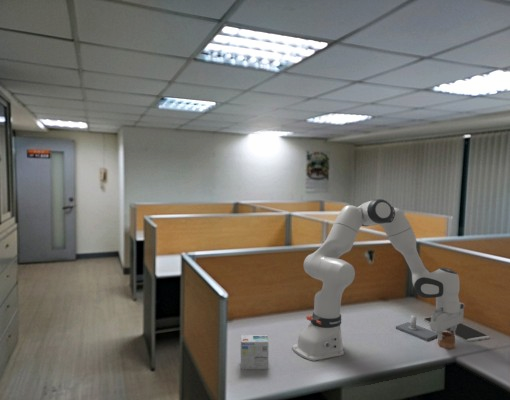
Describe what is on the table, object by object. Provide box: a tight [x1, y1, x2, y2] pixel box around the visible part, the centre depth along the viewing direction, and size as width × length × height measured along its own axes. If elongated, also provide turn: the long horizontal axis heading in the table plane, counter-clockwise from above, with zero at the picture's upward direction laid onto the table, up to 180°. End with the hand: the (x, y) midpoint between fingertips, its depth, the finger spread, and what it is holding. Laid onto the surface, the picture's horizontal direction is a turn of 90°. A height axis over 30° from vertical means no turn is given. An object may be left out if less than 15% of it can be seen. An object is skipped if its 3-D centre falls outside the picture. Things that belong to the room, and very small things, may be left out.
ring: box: [437, 331, 456, 350], centre depth 154 cm, size 6×6×5 cm
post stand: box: [395, 314, 438, 342], centre depth 168 cm, size 10×16×7 cm, turn 33°
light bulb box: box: [240, 334, 269, 370], centre depth 136 cm, size 11×7×11 cm, turn 92°
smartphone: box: [423, 316, 491, 343], centre depth 173 cm, size 13×27×2 cm, turn 18°
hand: (446, 337), depth 154 cm, fingers open, 8 cm apart
